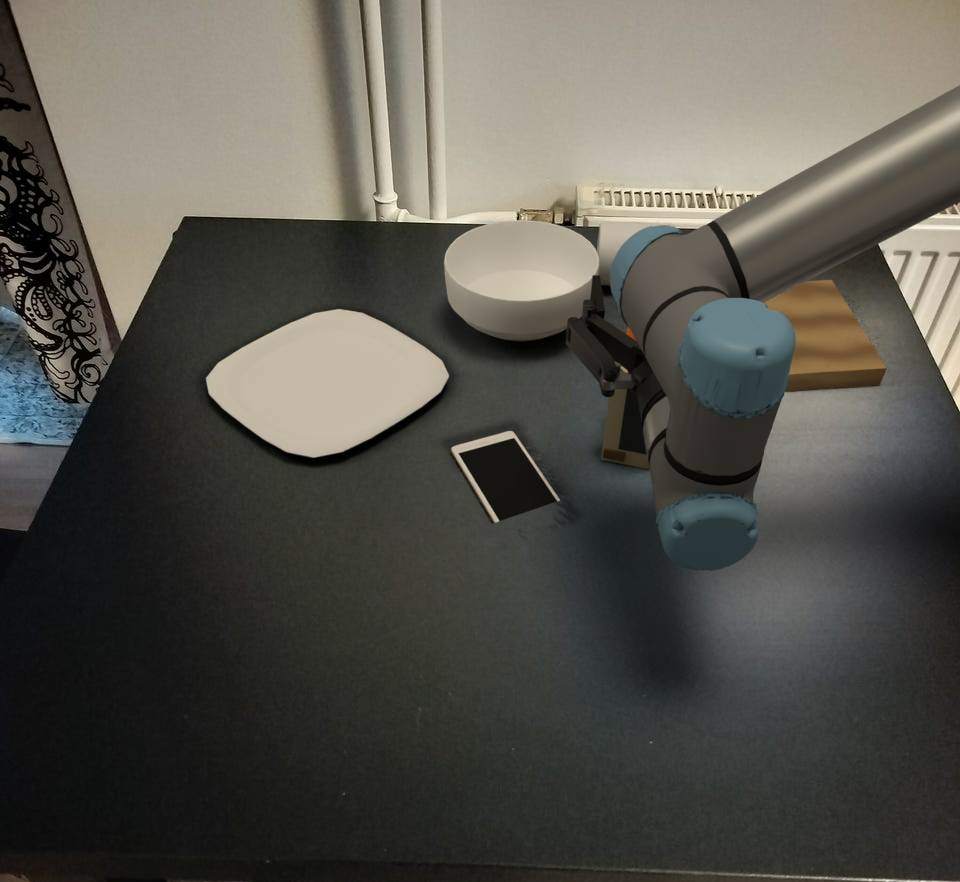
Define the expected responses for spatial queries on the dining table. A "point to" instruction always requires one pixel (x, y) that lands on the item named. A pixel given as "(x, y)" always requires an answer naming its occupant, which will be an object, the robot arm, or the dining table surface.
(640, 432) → the television
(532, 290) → the bowl
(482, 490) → the cell phone
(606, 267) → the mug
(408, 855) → the dining table surface
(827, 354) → the brown wooden board
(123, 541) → the dining table surface
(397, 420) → the plate
